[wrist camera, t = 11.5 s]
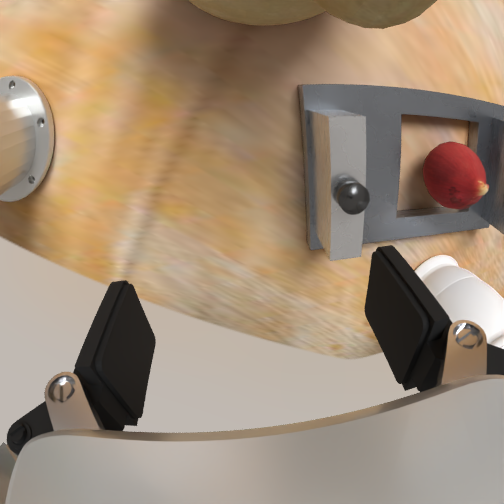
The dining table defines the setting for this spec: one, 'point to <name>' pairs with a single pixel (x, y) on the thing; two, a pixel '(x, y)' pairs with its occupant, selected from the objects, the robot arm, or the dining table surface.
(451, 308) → the jar
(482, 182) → the onion
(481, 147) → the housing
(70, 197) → the dining table surface
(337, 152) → the door
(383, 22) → the ceramic vessel
